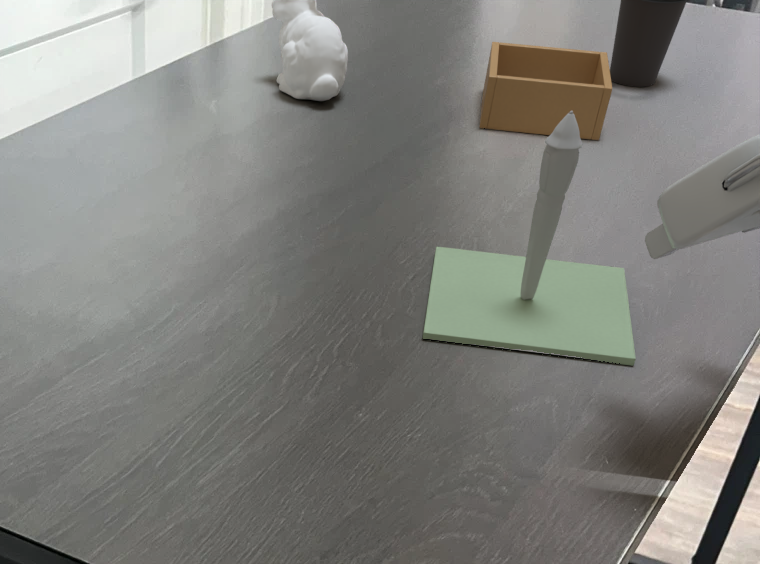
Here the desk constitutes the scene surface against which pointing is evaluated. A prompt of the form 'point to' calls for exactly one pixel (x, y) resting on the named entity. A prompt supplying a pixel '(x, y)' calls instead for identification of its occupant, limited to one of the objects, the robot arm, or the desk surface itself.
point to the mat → (530, 306)
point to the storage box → (545, 89)
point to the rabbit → (309, 51)
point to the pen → (550, 198)
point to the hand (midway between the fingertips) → (700, 233)
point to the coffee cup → (643, 39)
